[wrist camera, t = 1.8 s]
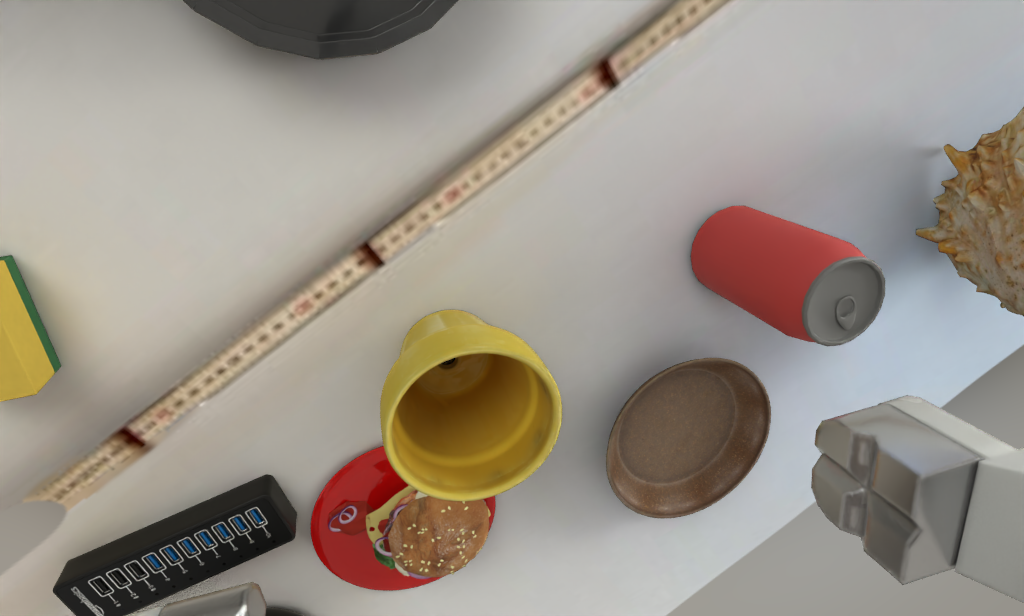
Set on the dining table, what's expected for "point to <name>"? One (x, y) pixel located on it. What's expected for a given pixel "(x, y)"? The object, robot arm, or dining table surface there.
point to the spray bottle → (280, 612)
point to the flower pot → (467, 409)
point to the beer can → (788, 275)
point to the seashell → (986, 214)
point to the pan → (324, 23)
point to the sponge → (21, 338)
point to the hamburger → (393, 528)
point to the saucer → (688, 437)
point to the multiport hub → (178, 551)
